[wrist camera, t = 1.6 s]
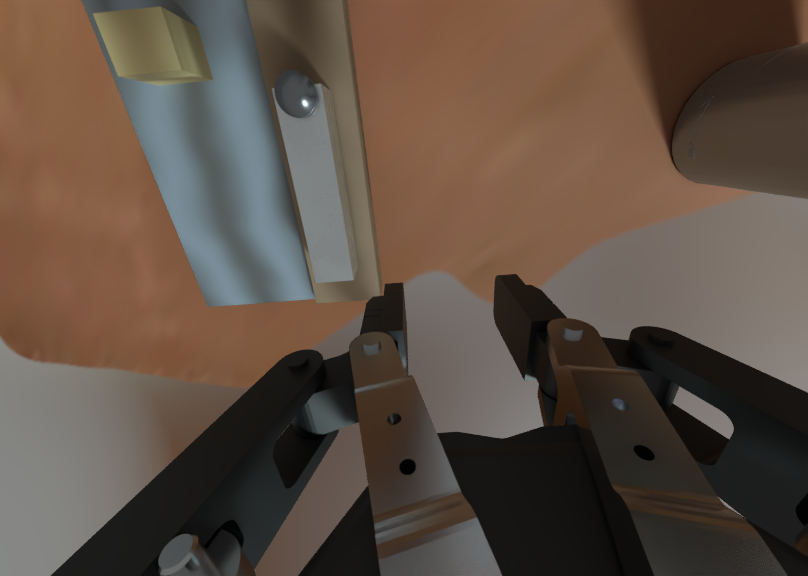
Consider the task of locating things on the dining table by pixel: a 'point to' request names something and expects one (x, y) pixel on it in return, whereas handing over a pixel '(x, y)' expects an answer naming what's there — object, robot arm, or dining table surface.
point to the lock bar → (317, 174)
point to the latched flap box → (239, 134)
